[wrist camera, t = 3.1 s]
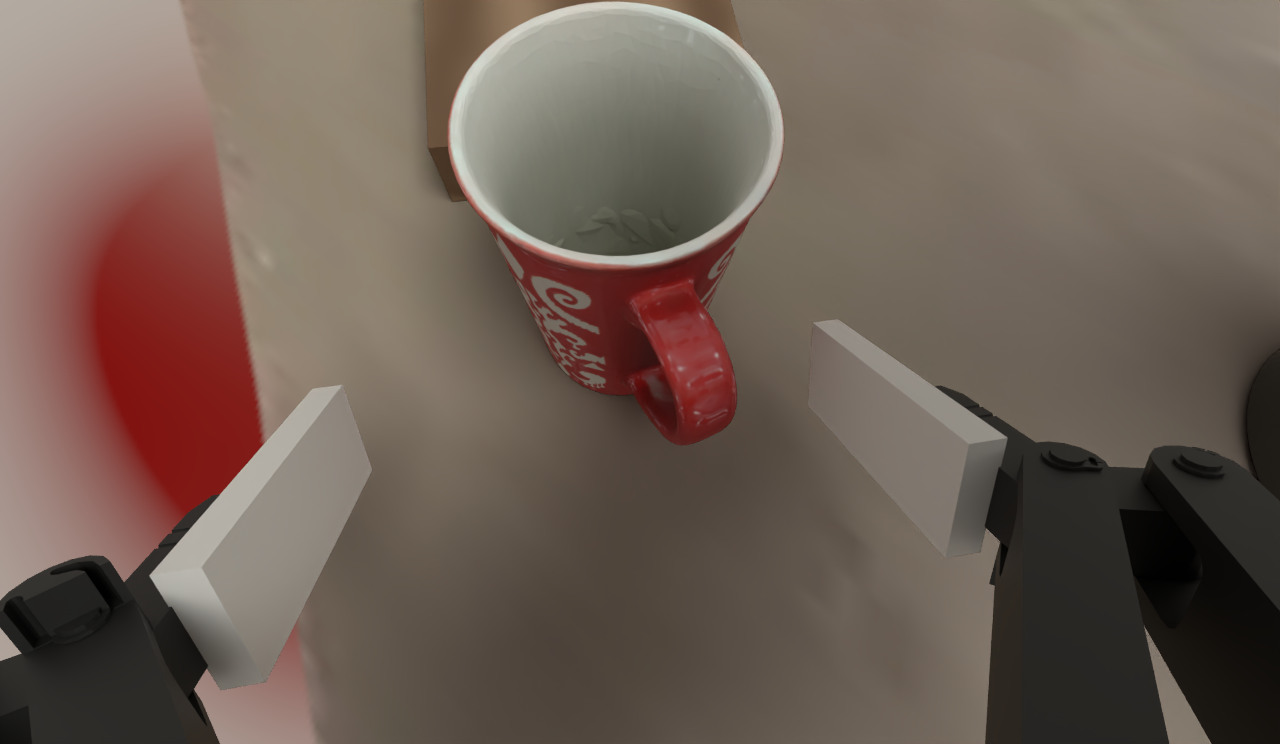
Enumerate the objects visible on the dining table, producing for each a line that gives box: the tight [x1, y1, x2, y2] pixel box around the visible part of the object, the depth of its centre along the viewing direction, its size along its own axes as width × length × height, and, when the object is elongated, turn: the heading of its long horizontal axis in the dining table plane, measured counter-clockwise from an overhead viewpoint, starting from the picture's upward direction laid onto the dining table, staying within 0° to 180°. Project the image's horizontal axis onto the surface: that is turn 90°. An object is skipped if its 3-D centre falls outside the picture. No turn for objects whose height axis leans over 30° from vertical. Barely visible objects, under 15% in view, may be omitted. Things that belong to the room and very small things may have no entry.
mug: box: [447, 1, 784, 445], centre depth 20 cm, size 13×9×14 cm
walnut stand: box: [424, 0, 744, 202], centre depth 31 cm, size 16×16×4 cm
